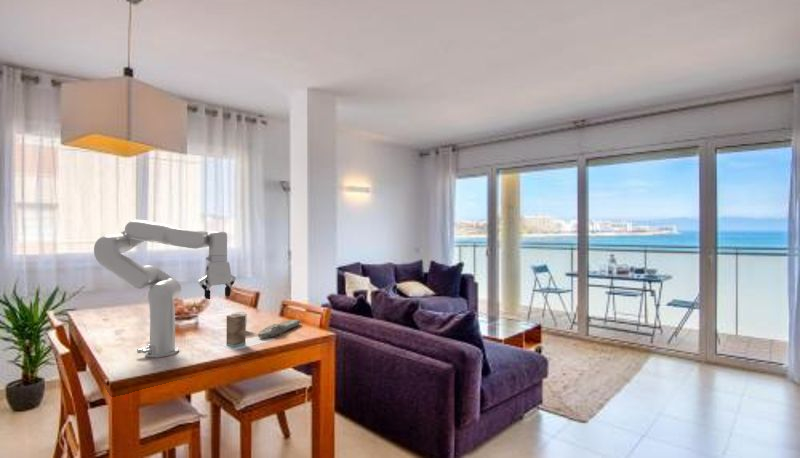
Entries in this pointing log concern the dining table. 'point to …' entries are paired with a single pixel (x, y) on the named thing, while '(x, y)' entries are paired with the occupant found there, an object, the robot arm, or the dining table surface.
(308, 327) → the dining table surface
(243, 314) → the white cup
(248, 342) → the mat
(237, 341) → the walnut block
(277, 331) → the long grey stone
